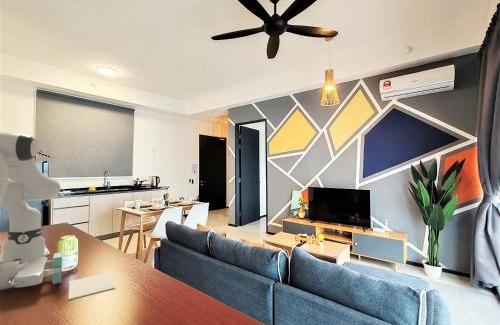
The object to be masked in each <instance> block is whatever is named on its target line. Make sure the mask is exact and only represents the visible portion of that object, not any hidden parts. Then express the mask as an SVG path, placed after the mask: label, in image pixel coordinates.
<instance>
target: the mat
mask: <svg viewBox="0 0 500 325" xmlns="http://www.w3.org/2000/svg"><path fill="white" fill-rule="evenodd" d="M114 289H116V286H115V282H114V278H113V276H112V273H111V271H110V272H106V273H101V274H97V275H90V276H87V277H82V278H76V279H74V280H69V282H68V301H70V300H74V299H78V298H81V297H82V298H83V297H86V296H90V295H95V294H99V293H102V292H106V291H110V290H114Z"/></svg>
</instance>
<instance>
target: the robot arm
mask: <svg viewBox="0 0 500 325" xmlns="http://www.w3.org/2000/svg"><path fill="white" fill-rule="evenodd" d="M38 150H39V146H38V142H37V140H36V139H35V138H34V137H33V136H31V135H27V134H18V133H13V132H12V133H10V132H2V131H0V204H1V205H2V206H3V207H4V208H5V209H6V211H7V213H8V214H7V215H8V219H9V230H8V232H7V241H6V242H4V243H3V244H2V245H1V244H0V255H1V257H0V290H1V291H2V290H6V289H11V288H25V287H32V286H37V285H39V284H40V285H41V283H43V281H44V278H45V277H49V276H51V275H52V274H54V273H58V272H59V271H60V267H54V268H53V260H48V256H49V255H51V253H50V250H49V249H48V247H47V245H46V239H45V237H43V236H42V234H43V233H42V232H43V228H42V227H41V226H42V213H41V211H40V210H39V209H37V208H36V207H35V208H34V207H32V206H30V205H29V204H28V202H29V201H47V200H51V199H55V198H56V197H58V195H59V194H60V192H61V185H60V182H59V181H58V180H57V179H54V178H52V177H49V176H47V175H45V173H43V172H42V171H41V170H40V169H39V168H38V166H37V163H36V161H35V157H36V156H37V154H38ZM27 201H28V202H27ZM49 267H52V268H49ZM47 268H49V269H47Z"/></svg>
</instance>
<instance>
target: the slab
mask: <svg viewBox="0 0 500 325" xmlns="http://www.w3.org/2000/svg"><path fill="white" fill-rule="evenodd" d="M52 261H53V266H52V268H54V267H60V271H59V272H58V273H54V274H51V275H52V277H51V282H52V283H51V284H52V285H56V284H60V283H62V269H63V267H62V266H63V252H55V253H54V254H53V258H52Z"/></svg>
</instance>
